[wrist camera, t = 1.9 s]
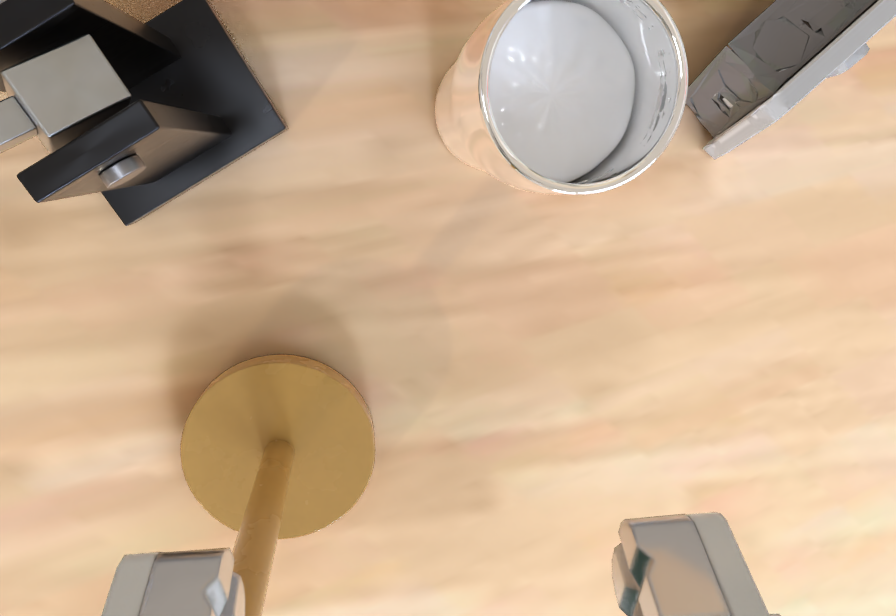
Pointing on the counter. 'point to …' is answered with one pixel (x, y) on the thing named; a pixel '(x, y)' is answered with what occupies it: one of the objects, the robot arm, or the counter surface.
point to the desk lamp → (276, 456)
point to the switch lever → (59, 95)
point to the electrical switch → (781, 64)
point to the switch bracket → (145, 102)
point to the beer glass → (565, 94)
